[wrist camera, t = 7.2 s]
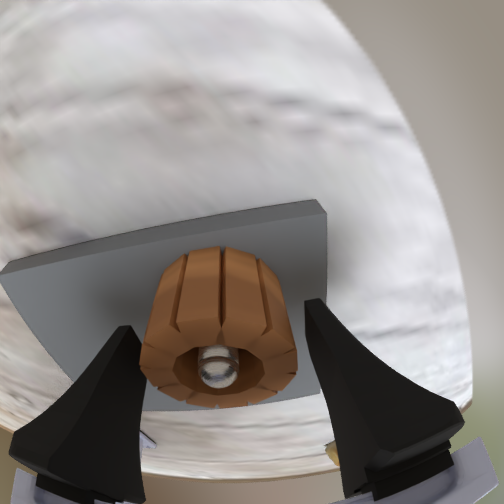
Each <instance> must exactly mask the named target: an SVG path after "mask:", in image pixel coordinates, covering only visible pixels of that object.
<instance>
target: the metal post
mask: <svg viewBox="0 0 504 504" xmlns="http://www.w3.org/2000/svg"><path fill="white" fill-rule="evenodd" d="M198 374H199V376H200V378H201V380H202V381H203V382H204V383H205V384H207V385H208V386H210V387H213V388H224V387H227V386H229V385H231V384H232V383H233V382H234V381H235V380H236V379H237V377H238V374H239V355H238V348H235V347H230V346H226V345H221V344H219V345H211V346H203V347H199V352H198Z"/></svg>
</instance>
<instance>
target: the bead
mask: <svg viewBox="0 0 504 504" xmlns="http://www.w3.org/2000/svg"><path fill="white" fill-rule="evenodd" d="M219 344H221V345H226V346H230V347H235V348H238V355H239V374H238V377H237V379H236V380H235V381H234V382H233V383H232V384H231V385H229V386H227V387H224V388H213V387H210V386H208V385H207V384H205V383H204V382H203V381H202V380H201V378H200V376H199V374H198V352H199V347H203V346H211V345H219ZM139 365H141V368H140V369H141V371H142V372H143V374H144V375H145V376H146V378H147V379H148V380H149V382H150V383H151V384H152V386H153V387H158V388H157V390H159V391H160V392H162V393H164V394H166V395H168V396H170V397H172V398H174V399H176V400H178V401H180V402H181V401H184V400H186V404H191V405H196V406H202V407H209V408H215V406H216V405H217V404H218V406H219V408H231V407H241V406H248V402H250V403H252V404H256V403H258V402H260V401H263V400H265V399H267V398H270V397H272V396H274V395H277V394H278V392H277V391H283V389H284V388H285V387H286V386H287V385H288V384H289V383H290V382H291V380H292V379H293V378H294V377H295V376H296V371H298V358H297V349H296V345H295V341H294V337H293V333H292V329H291V325H290V321H289V317H288V313H287V309H286V305H285V301H284V297H283V293H282V290H281V286H280V282H279V280H278V278H277V275H276V274H275V273H274V272H273V271H272V270H271V269H270V268H269V267H268V266H267V265H266V264H265V263H264V262H263V261H262V260H261V259H260V258H259V259H257V260H256V259H255V255H254V254H250V253H247V252H244V251H240V250H237V249H234V248H230V247H227V246H226V247H225V250H224V252H223V255H222V254H221V250H220V246H216V247H210V248H204V249H198V250H193V251H189V256H187V255H186V254H183V255H182V256H180V257H179V258H178V259H177V260H176V261H174V262H173V263H172V264H171V265H170V266H168V267H167V268H166V269H165V270H164V273H163V274H162V275H161V278H160V282H159V285H158V288H157V292H156V295H155V299H154V302H153V306H152V309H151V313H150V317H149V320H148V324H147V328H146V332H145V336H144V339H143V343H142V349H141V355H140V362H139Z"/></svg>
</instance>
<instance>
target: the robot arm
mask: <svg viewBox="0 0 504 504" xmlns="http://www.w3.org/2000/svg"><path fill="white" fill-rule="evenodd" d="M304 314H305V337H306V341H307V346H308V350H309V354H310V358H311V361H312V364H313V366H314V369H315V372H316V375H317V378H318V380H319V383H320V386H321V389H322V392H323V394H324V397H325V400H326V403H327V407H328V410H329V415H330V419H331V423H332V428H333V433H334V438H335V443H336V448H337V453H338V459H339V464H340V471H341V477H342V484H343V492H344V495H345V500H341V501H338V502H334V503H329V504H474V503H475V502H477V501H478V500H479V499H481V498H482V497H483V496H485V495H486V494H487V493H489V492H490V491H491V490H493V489H494V488H495V487H496V486H498V484H499V482H498V479H497V476H496V473H495V471H494V468H493V465H492V463H491V460H490V458H489V455H488V453H487V450H486V448H485V445H484V443H483V441H482V439H481V437H478V438H476V439H475V440H473V441H471V442H470V443H468V444H467V445H465V446H464V447H462V448H460V449H459V450H457V451H455V452H454V453H452V454H451V455H450V452H449V450H448V449H450V448H451V444H450V441H449V439H450V438H451V437H452V436H453V435H454V434H456V433H457V432H458V431H459V430H460V429H461V428H462V427H463V425H464V423H465V421H464V419H463V417H462V415H461V413H460V411H459V409H458V407H457V406H456V404H455V403H454V402H453V401H451V400H448V399H446V398H444V397H441V396H439V395H437V394H435V393H432V392H430V391H428V390H427V389H425V388H423V387H421V386H419V385H417V384H416V383H414V382H412V381H411V380H409V379H408V378H406V377H404V376H403V375H401V374H399V373H398V372H396V371H395V370H394V369H392V368H391V367H389V366H388V365H387V364H385V363H384V362H383V361H382V360H380V359H379V358H378V357H376V356H375V355H374V354H373V353H372V352H371V351H369V350H368V349H367V348H366V347H365V346H364V345H363V344H362V343H361V342H360V341H358V340H357V339H356V338H355V337H354V336H353V335H352V334H351V333H350V332H349V330H348V329H347V328H346V327H345V326H344V325H343V324H342V323H341V322H340V321H339V320H338V319H337V318H336V316H335V315H334V314H333V313H332V312H331V311H330V309H329V308H328V307H327V306H326V304H325V303H324V302H323V301H322V299H320V298H316V299H310V300H305V301H304ZM141 349H142V343H141V341H140V340H139V338H138V336H137V335H136V333H135V331H134V329H133V328H132V326H131V325H124V326H119V327H118V328H117V329H116V330H115V331H114V333H113V334H112V335H111V336H110V338H109V339H108V340H107V342H106V343H105V344H104V346H103V347H102V348H101V350H100V351H99V352H98V354H97V355H96V356H95V358H94V359H93V360H92V362H91V363H90V364H89V365H88V367H87V368H86V369H85V370H84V371H83V373H82V374H81V375H80V376H79V378H78V379H77V380H76V381H75V382H74V384H73V385H72V386H71V387H70V388H69V389H68V390H67V391H66V392H65V393H64V394H63V395H62V396H61V397H60V398H59V399H58V400H57V401H56V402H55V403H54V404H52V405H51V406H50V407H49V408H48V409H47V410H46V411H44V412H43V413H42V414H41V415H39V416H38V417H37V418H35V419H34V420H32V421H31V422H30V423H28V424H26V425H25V426H23V427H21V428H20V429H18V430H16V431H15V432H14V434H13V438H12V442H11V446H10V449H9V455H10V456H11V457H12V458H14V459H15V460H17V461H18V462H20V463H21V464H23V465H25V466H27V467H28V468H30V469H32V470H33V471H35V472H37V473H38V475H37V477H35V476H33V475H31V474H29V473H27V472H25V471H23V470H21V469H19V468H17V470H16V474H15V480H14V485H13V490H12V497H11V504H142V503H144V502H145V501H146V498H145V493H144V487H143V482H142V474H141V457H142V448H156V447H157V445H156V444H155V443H153V442H152V441H151V440H150V439H148V438H147V437H146V436H145V435H144V434H142V433H141V432H140V420H141V413H142V407H143V401H144V396H145V390H146V384H147V378H146V376H145V375H144V374H143V372H142V371H141V369H140V368H141V365H139V362H140V355H141ZM361 494H362V495H361ZM358 495H359V496H358ZM354 496H355V497H354ZM351 497H352V498H351ZM348 498H349V499H348Z"/></svg>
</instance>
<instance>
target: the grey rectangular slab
mask: <svg viewBox="0 0 504 504" xmlns="http://www.w3.org/2000/svg"><path fill="white" fill-rule="evenodd" d="M216 246H220V250H221V254H222V255H223V252H224V250H225V247H226V246H227V247H230V248H234V249H237V250H240V251H244V252H247V253H250V254H254V255H255V259H256V260H257V259H259V258H260V259H261V260H262V261H263V262H264V263H265V264H266V265H267V266H268V267H269V268H270V269H271V270H272V271H273V272H274V273H275V274H276V275H277V278H278V280H279V282H280V286H281V290H282V293H283V297H284V301H285V305H286V309H287V313H288V317H289V321H290V325H291V329H292V333H293V337H294V341H295V345H296V349H297V358H298V371H296V376H295V377H294V378H293V379H292V380H291V382H290V383H289V384H288V385H287V386H286V387H285V388H284V389H283V391H277V392H278V394H277V395H274V396H272V397H270V398H267V399H265V400H263V401H260V402H258V403H256V404H252V403H250V402H248V406H251V405H258V404H265V403H272V402H278V401H284V400H290V399H295V398H300V397H305V396H310V395H315V394H320V389H321V386H320V383H319V380H318V378H317V375H316V372H315V369H314V366H313V364H312V361H311V358H310V354H309V350H308V346H307V341H306V337H305V314H304V301H305V300H310V299H316V298H320V299H322V301H323V302H324V303H325V304H326V295H327V213H326V212H325V210H324V209H323V208H322V206H321V205H320V204H319V203H318V201H317V200H309V201H302V202H295V203H288V204H282V205H275V206H269V207H262V208H256V209H250V210H244V211H238V212H232V213H226V214H221V215H215V216H209V217H204V218H198V219H193V220H188V221H183V222H177V223H172V224H167V225H162V226H157V227H152V228H148V229H143V230H138V231H133V232H129V233H124V234H120V235H115V236H111V237H106V238H102V239H97V240H93V241H89V242H85V243H80V244H76V245H72V246H68V247H64V248H60V249H56V250H52V251H48V252H45V253H41V254H37V255H33V256H29V257H26V258H22V259H19V260H15V261H11V262H9V263H8V264H7V265H6V266H5V267H4V268H3V269H2V271H1V272H0V283H1V285H2V286H3V288H4V290H5V291H6V293H7V295H8V296H9V298H10V300H11V301H12V303H13V305H14V306H15V308H16V309H17V311H18V312H19V314H20V315H21V317H22V318H23V320H24V321H25V323H26V324H27V325H28V327H29V328H30V330H31V331H32V332H33V334H34V335H35V337H36V338H37V339H38V340H39V342H40V343H41V344H42V346H43V347H44V348H45V350H46V351H47V352H48V353H49V354H50V356H51V357H52V358H53V359H54V361H55V362H56V363H57V364H58V365H59V366H60V368H61V369H62V370H63V371H64V372H65V373H66V374H67V375H68V377H69V378H70V379H71V380H72V381H73V382H75V381H76V380H77V379H78V378H79V376H80V375H81V374H82V373H83V371H84V370H85V369H86V368H87V367H88V365H89V364H90V363H91V362H92V360H93V359H94V358H95V356H96V355H97V354H98V352H99V351H100V350H101V348H102V347H103V346H104V344H105V343H106V342H107V340H108V339H109V338H110V336H111V335H112V334H113V333H114V331H115V330H116V329H117V328H118V327H119V326H124V325H131V326H132V328H133V329H134V331H135V333H136V335H137V336H138V338H139V340H140V341H141V343H143V339H144V336H145V332H146V328H147V324H148V320H149V317H150V313H151V309H152V306H153V302H154V299H155V295H156V292H157V288H158V285H159V282H160V278H161V275H162V274H163V273H164V270H165V269H166V268H167V267H168V266H170V265H171V264H172V263H173V262H174V261H176V260H177V259H178V258H179V257H180V256H182V255H183V254H186V255H187V256H189V251H193V250H198V249H204V248H210V247H216ZM157 388H158V387H153V386H152V384H151V383H150V382H149V380H148V379H147V384H146V390H145V396H144V401H143V407H142V411H191V410H209V409H222V408H219V406H218V404H217V405H216V406H215V408H209V407H202V406H196V405H191V404H186V400H184V401H181V402H180V401H178V400H176V399H174V398H172V397H170V396H168V395H166V394H164V393H162V392H160V391H159V390H157ZM241 407H242V406H241ZM231 408H233V407H231Z"/></svg>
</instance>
